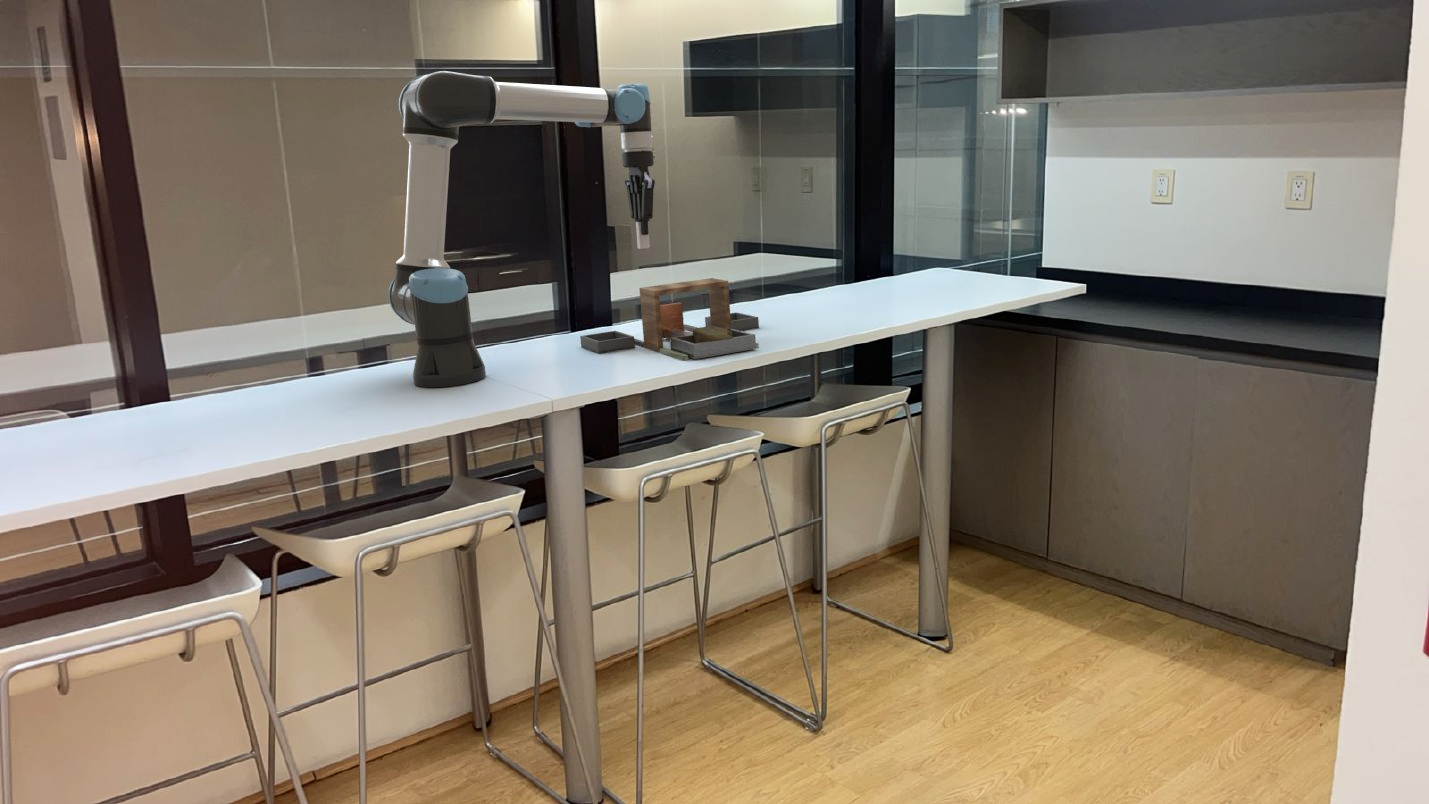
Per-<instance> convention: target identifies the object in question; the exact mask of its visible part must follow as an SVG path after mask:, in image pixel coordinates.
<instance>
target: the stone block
mask: <svg viewBox="0 0 1429 804" xmlns="http://www.w3.org/2000/svg"><path fill="white" fill-rule="evenodd" d="M692 333H693V341H694V344H697V343H703V342H709V341H715V340H725V339H730V338H733V336H732V332H731V331H728V330H726V329H724V328H719V327H716V326H706V325H705V326H702V327H701V326H700V327H698V328H696V330H694V331H693V332H692Z"/></svg>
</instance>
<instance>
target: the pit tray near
mask: <svg viewBox="0 0 1429 804" xmlns="http://www.w3.org/2000/svg"><path fill="white" fill-rule="evenodd" d="M579 337H580V346H581V347H580V348H582V349H585V350H588V351H590V352H593V353H595V354H598V355H601V354H606V353H613V352H614V353H615V352H620V351H626V350H632V349H636V345H635V342H634V338H635V336H633V335H631V334H627V333H624V332H621V331H619V330H618V331H617V330H611V331H603V332H598V333H592V334H591V333H590V334H586V335H585V334H584V335H579Z"/></svg>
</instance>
